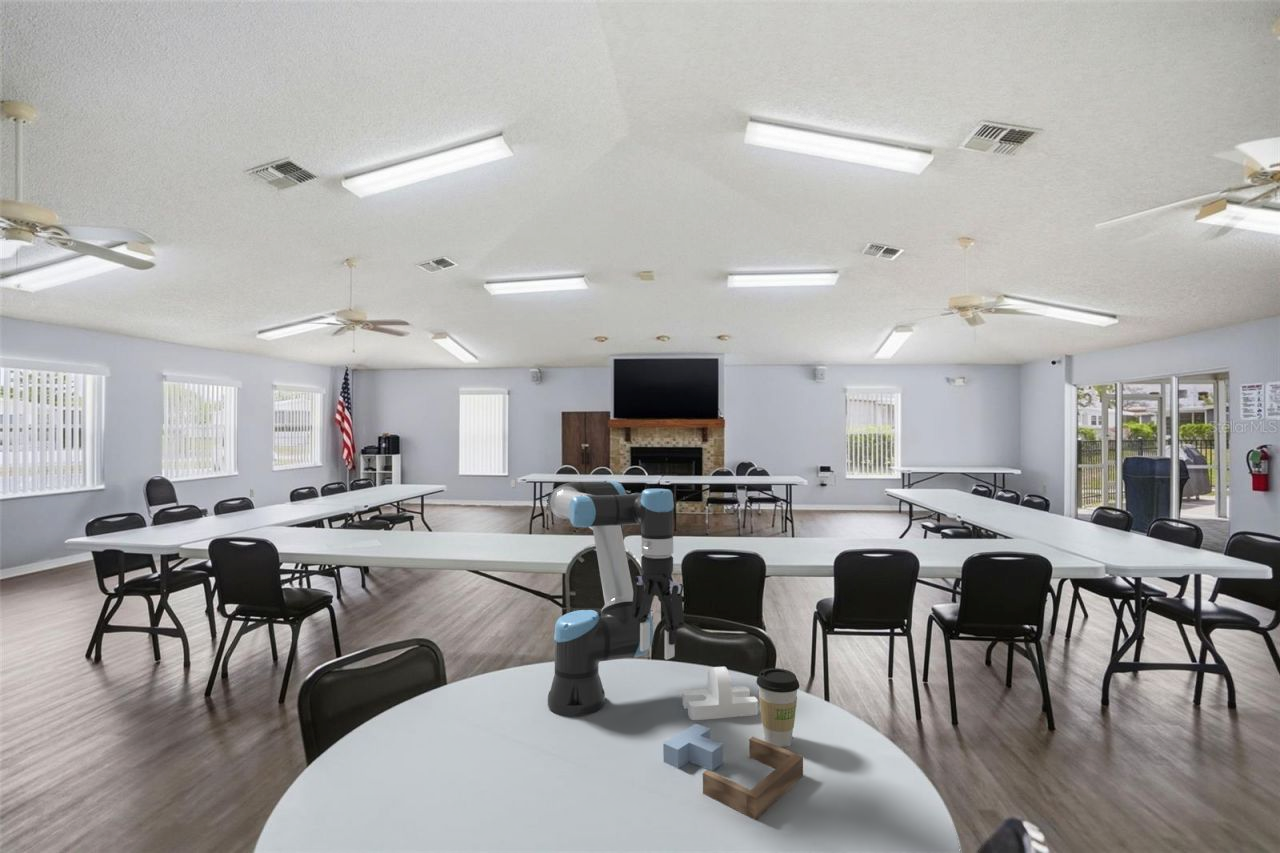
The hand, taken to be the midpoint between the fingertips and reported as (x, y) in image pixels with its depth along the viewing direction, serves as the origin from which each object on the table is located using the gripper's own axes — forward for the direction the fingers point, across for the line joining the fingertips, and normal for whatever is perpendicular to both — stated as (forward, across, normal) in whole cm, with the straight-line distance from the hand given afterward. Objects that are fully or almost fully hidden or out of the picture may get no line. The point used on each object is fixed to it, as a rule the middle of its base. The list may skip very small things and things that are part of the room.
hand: (657, 653), depth 136 cm
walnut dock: (+20, +27, 0) cm, 34 cm away
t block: (+20, +12, 0) cm, 23 cm away
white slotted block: (+21, +2, +23) cm, 31 cm away
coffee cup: (+20, +21, +19) cm, 35 cm away
